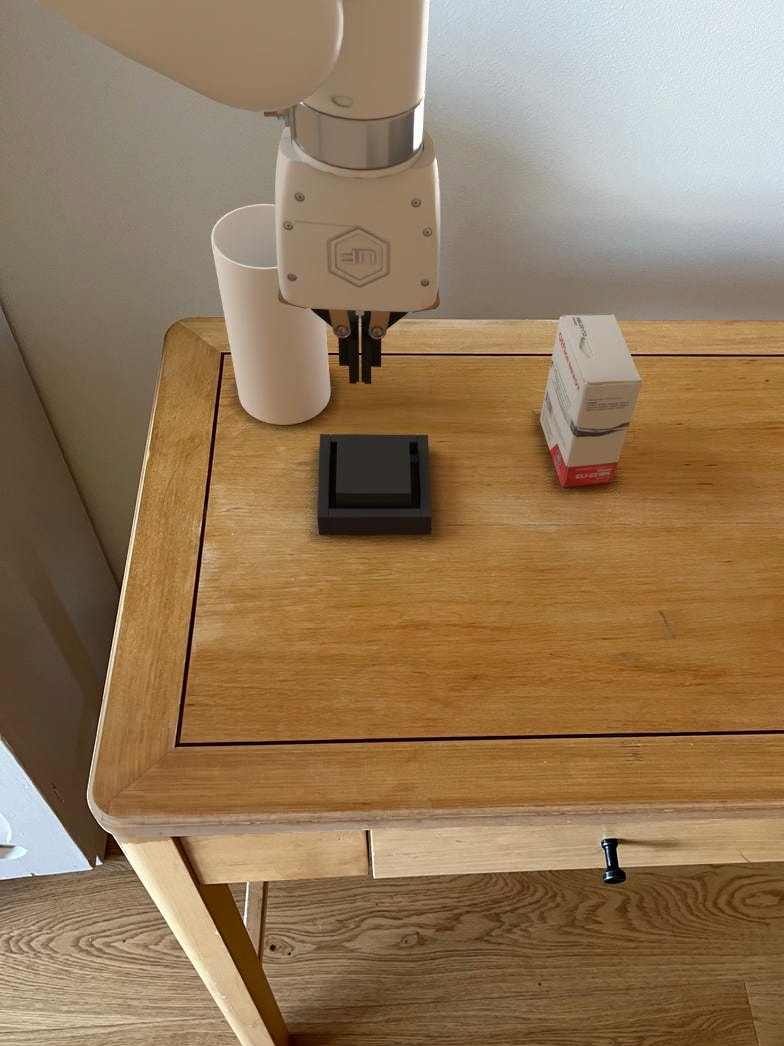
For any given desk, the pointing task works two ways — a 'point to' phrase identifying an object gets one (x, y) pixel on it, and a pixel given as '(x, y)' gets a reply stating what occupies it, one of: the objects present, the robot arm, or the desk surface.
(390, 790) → the desk surface
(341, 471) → the black pad
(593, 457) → the ink box
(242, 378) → the cup
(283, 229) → the robot arm
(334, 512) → the socket pad
